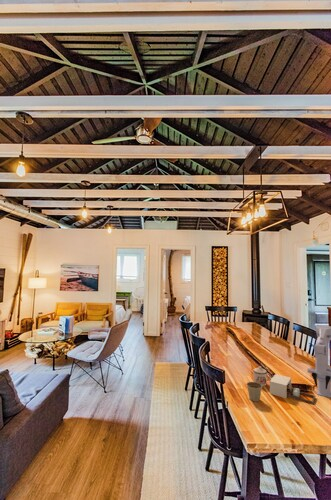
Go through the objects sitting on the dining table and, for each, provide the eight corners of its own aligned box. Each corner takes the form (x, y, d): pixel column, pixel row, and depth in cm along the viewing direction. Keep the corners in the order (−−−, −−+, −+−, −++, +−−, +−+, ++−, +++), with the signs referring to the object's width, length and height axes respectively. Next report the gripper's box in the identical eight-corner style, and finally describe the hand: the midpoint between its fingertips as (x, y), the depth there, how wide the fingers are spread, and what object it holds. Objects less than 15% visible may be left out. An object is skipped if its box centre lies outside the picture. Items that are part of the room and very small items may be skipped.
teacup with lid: (255, 386, 182) (255, 369, 182) (251, 380, 191) (251, 364, 191) (273, 386, 181) (272, 369, 182) (268, 381, 190) (268, 364, 191)
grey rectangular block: (275, 385, 183) (275, 374, 183) (291, 390, 177) (291, 377, 177) (269, 393, 171) (269, 381, 171) (286, 398, 165) (286, 385, 166)
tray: (291, 392, 175) (291, 389, 175) (315, 399, 166) (315, 395, 166) (288, 398, 166) (288, 395, 167) (313, 405, 158) (313, 401, 158)
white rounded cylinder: (294, 393, 172) (293, 387, 173) (300, 394, 170) (300, 388, 171) (293, 395, 169) (292, 389, 170) (299, 396, 167) (299, 390, 168)
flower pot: (243, 397, 166) (243, 383, 166) (255, 394, 169) (255, 380, 170) (253, 404, 157) (253, 389, 158) (265, 401, 161) (265, 386, 161)
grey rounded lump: (293, 395, 169) (293, 389, 169) (299, 397, 167) (299, 391, 167) (292, 397, 166) (292, 391, 167) (298, 399, 164) (298, 393, 164)
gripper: (306, 363, 163) (307, 386, 162) (334, 369, 154) (334, 393, 153) (308, 360, 168) (308, 382, 167) (335, 365, 160) (335, 388, 159)
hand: (321, 387), depth 161 cm, fingers open, 5 cm apart
